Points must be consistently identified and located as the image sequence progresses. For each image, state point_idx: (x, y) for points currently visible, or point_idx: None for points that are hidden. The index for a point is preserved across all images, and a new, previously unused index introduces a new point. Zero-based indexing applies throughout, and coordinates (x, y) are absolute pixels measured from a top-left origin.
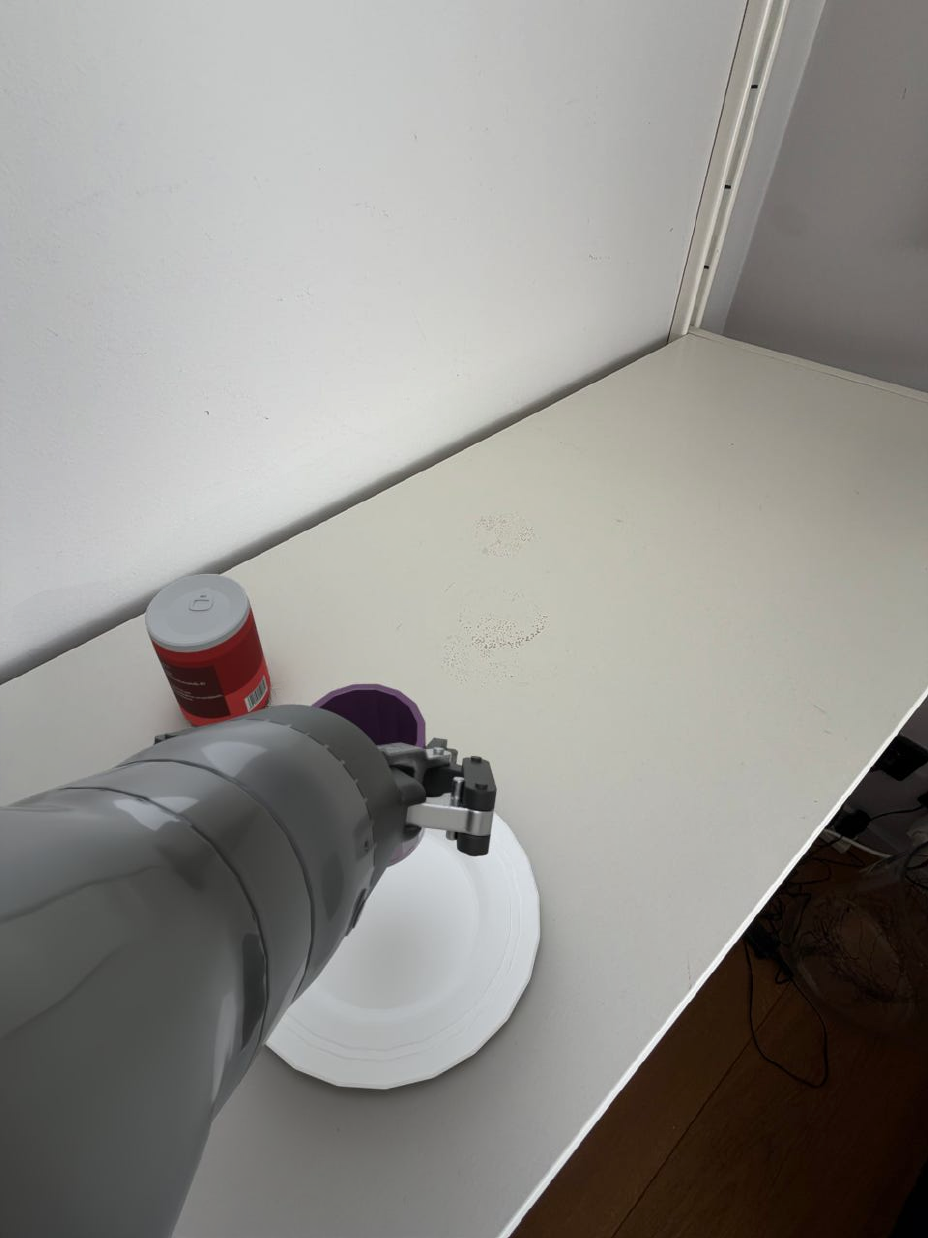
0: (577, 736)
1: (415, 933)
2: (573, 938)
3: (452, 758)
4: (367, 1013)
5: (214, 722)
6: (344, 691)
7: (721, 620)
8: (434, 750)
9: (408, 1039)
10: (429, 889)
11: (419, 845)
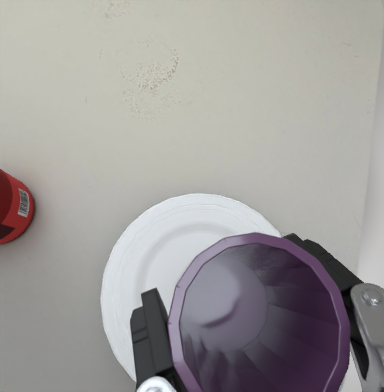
0: (238, 122)
1: None
2: None
3: (349, 272)
4: None
5: (7, 238)
6: (194, 275)
7: (273, 7)
8: (372, 302)
9: None
10: None
11: (195, 239)
